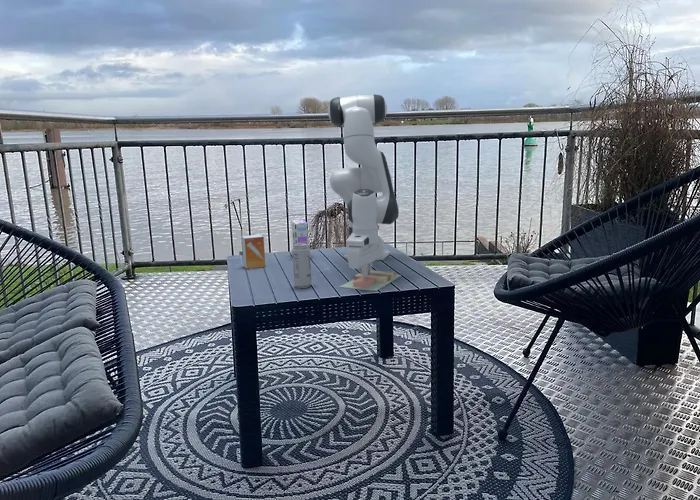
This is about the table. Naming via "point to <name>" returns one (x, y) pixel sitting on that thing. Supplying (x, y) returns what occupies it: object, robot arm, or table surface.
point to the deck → (378, 276)
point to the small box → (253, 251)
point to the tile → (363, 282)
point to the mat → (372, 287)
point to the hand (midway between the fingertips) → (366, 275)
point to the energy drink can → (301, 265)
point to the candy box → (300, 232)
